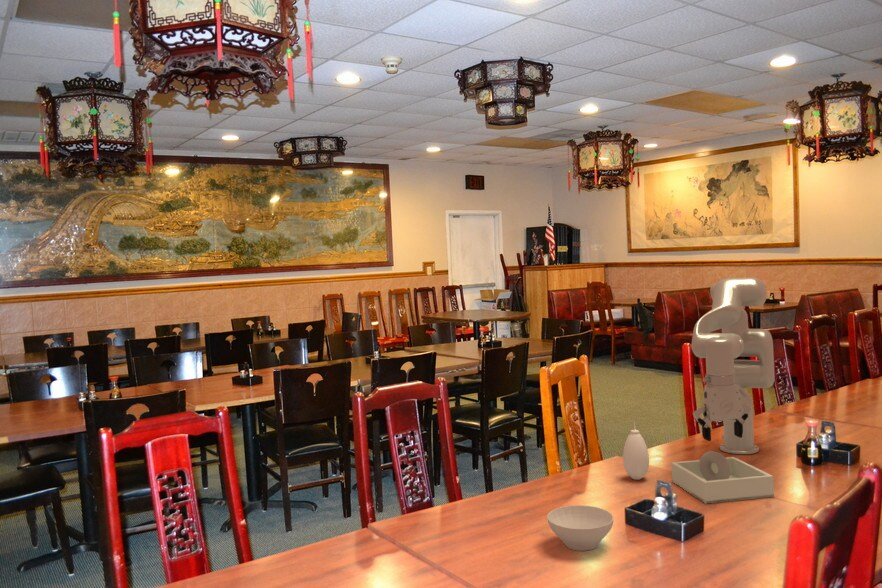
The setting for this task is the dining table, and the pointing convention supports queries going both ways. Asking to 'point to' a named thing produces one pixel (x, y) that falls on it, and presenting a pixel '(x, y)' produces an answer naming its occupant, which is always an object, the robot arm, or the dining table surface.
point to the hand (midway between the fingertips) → (722, 438)
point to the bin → (723, 482)
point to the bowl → (580, 525)
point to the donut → (719, 461)
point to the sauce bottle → (635, 455)
